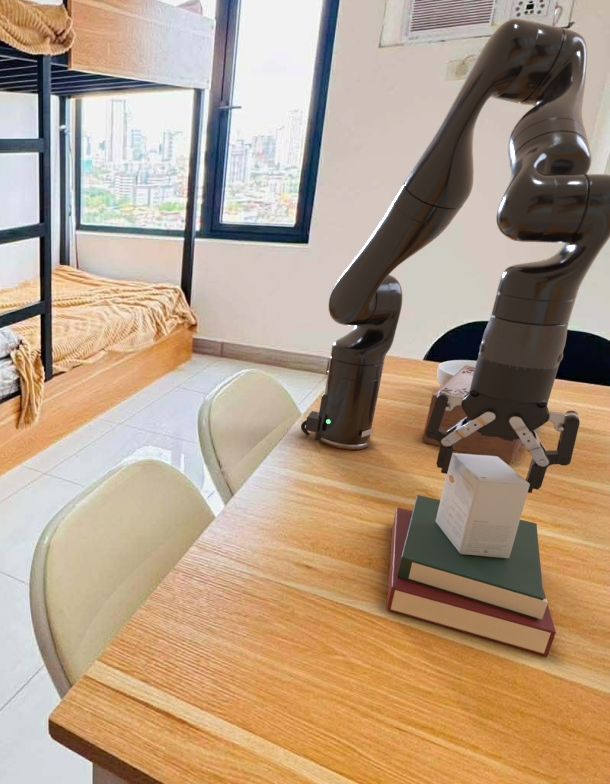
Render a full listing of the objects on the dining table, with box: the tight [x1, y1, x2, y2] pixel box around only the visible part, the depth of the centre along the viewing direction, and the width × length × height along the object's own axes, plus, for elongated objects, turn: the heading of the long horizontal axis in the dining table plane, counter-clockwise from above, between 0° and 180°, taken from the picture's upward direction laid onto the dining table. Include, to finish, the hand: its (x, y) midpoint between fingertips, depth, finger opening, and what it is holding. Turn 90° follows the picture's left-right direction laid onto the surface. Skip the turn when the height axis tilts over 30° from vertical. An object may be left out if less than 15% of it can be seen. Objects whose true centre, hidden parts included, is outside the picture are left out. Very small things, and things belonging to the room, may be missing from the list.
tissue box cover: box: [421, 365, 524, 465], centre depth 127 cm, size 26×14×10 cm, turn 135°
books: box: [386, 494, 557, 657], centre depth 82 cm, size 16×22×6 cm
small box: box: [436, 452, 530, 558], centre depth 79 cm, size 8×6×10 cm
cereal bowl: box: [436, 359, 477, 388], centre depth 146 cm, size 17×17×7 cm
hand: (484, 480), depth 78 cm, fingers open, 8 cm apart
